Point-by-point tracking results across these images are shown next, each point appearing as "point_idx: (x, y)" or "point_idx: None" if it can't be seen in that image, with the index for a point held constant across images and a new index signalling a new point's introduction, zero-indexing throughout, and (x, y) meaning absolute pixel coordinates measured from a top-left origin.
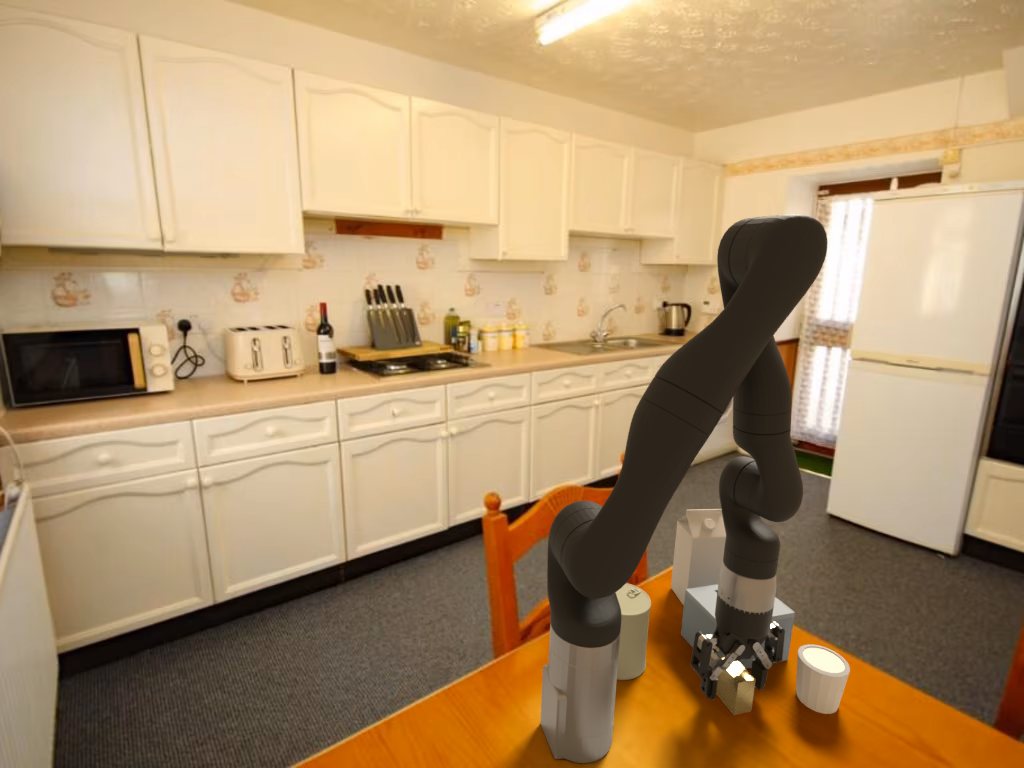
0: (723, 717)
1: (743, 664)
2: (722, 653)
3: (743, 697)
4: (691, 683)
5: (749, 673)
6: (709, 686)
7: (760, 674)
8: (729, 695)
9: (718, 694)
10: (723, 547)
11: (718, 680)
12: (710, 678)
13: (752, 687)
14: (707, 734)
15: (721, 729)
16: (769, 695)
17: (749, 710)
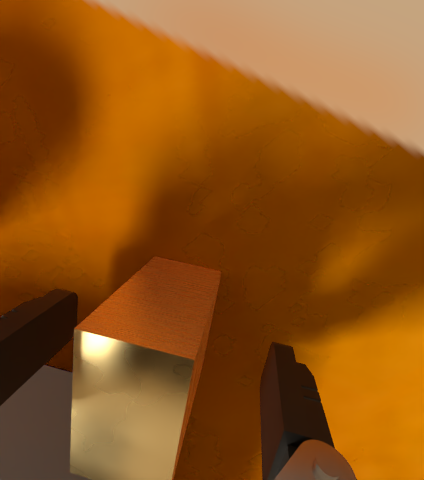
0: (262, 281)
1: (43, 381)
2: None
3: (175, 293)
4: (245, 409)
5: (76, 369)
6: (309, 406)
7: (22, 335)
8: (208, 327)
9: (206, 346)
10: None
11: (194, 391)
12: (349, 467)
13: (115, 305)
14: (379, 259)
15: (313, 251)
16: (52, 270)
17: (160, 259)
